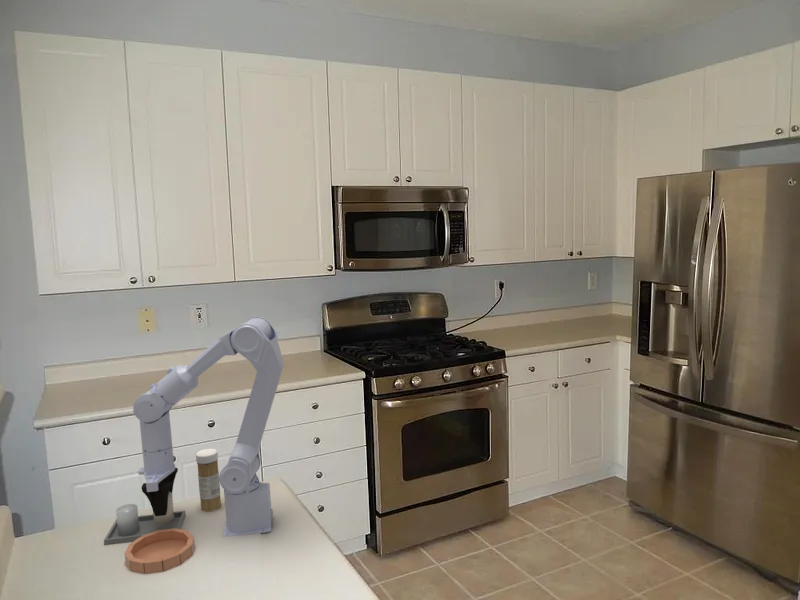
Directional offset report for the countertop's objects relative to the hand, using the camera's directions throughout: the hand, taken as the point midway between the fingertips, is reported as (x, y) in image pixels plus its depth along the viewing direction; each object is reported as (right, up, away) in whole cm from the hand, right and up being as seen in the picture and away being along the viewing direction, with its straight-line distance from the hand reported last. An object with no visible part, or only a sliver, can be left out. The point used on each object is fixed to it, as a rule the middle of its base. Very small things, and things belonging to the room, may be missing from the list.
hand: (163, 509), depth 123 cm
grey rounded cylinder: (-7, -4, -1) cm, 8 cm away
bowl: (+4, -6, -10) cm, 12 cm away
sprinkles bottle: (+7, -3, +9) cm, 12 cm away
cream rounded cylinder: (0, -2, 0) cm, 2 cm away
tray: (-3, -5, 0) cm, 6 cm away
